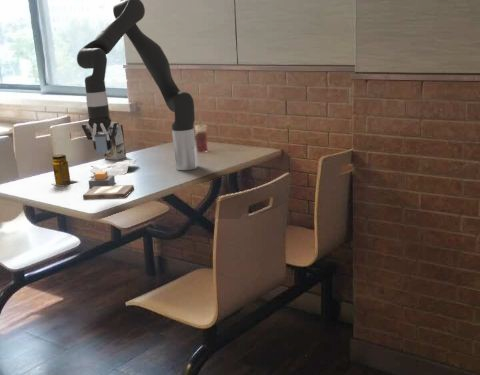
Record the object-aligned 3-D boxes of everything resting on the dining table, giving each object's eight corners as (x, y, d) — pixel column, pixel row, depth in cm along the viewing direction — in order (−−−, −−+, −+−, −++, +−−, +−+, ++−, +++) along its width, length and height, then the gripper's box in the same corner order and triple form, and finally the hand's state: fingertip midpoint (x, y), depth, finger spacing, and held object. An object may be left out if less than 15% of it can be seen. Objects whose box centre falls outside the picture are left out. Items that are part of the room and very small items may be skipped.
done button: (108, 179, 241) (107, 171, 240) (105, 182, 237) (103, 173, 236) (98, 179, 241) (97, 171, 240) (95, 182, 237) (94, 174, 236)
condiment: (51, 184, 246) (47, 156, 243) (68, 179, 253) (64, 152, 249) (61, 186, 242) (57, 158, 239) (79, 181, 248) (75, 153, 245)
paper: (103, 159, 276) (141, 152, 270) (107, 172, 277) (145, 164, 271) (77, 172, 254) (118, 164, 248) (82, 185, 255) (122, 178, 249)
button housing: (114, 182, 243) (114, 175, 242) (108, 187, 235) (107, 180, 234) (96, 183, 244) (95, 176, 243) (89, 188, 236) (88, 181, 235)
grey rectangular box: (110, 151, 224) (108, 132, 222) (107, 153, 220) (104, 134, 218) (100, 151, 224) (98, 133, 222) (96, 154, 220) (94, 135, 218)
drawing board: (133, 188, 231) (133, 184, 231) (125, 197, 219) (124, 193, 219) (94, 190, 233) (93, 186, 232) (83, 198, 221) (82, 194, 221)
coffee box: (127, 157, 290) (123, 124, 286) (117, 160, 285) (113, 126, 281) (113, 156, 295) (109, 124, 291) (104, 159, 290) (99, 126, 285)
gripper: (119, 102, 220) (124, 147, 225) (82, 103, 222) (88, 149, 226) (113, 104, 213) (118, 151, 217) (75, 106, 214) (81, 153, 219)
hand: (103, 150), depth 222 cm, fingers closed on grey rectangular box, 4 cm apart
